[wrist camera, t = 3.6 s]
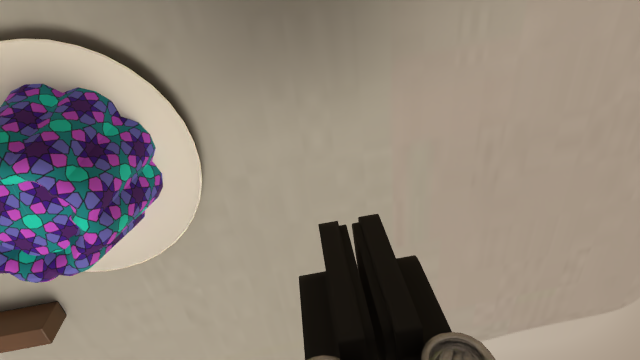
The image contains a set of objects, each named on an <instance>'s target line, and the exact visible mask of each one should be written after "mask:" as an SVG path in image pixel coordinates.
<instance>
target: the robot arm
mask: <svg viewBox="0 0 640 360" xmlns="http://www.w3.org/2000/svg"><path fill="white" fill-rule="evenodd" d="M358 219H359V223H353V224H352V229H353V237H354V244H355V252H356V259H357V264H356V261H355V257H354V253H353V249H352V245H351V241H350V238H349V234H348V230H347V226H346V225H342V226H339V225H338V221H334V222H329V223H323V224H319V231H320V237H321V243H322V249H323V255H324V261H325V268H326V271H325V272H320V273H314V274H309V275H303V276H299V285H300V298H301V311H302V324H303V337H304V350H305V360H495V358H494V357H493V356H492V354H491V353H490V351H489V350H488V349H487V348H486V347H485V346H484V345H483V344H482V343H481V342H480V341H478V340H476V339H475V338H473V337H471V336H469V335H465V334H462V333H455V332H452V331H451V329H450V327H449V325H448V323H447V320H446V318H445V316H444V314H443V312H442V310H441V307H440V305H439V303H438V301H437V299H436V297H435V295H434V292H433V290H432V288H431V286H430V284H429V282H428V279H427V277H426V275H425V273H424V271H423V269H422V266H421V264H420V262H419V260H418V258H417V257H416V256H409V257H403V258H398V259H396V258H395V255H394V253H393V250H392V247H391V245H390V242H389V240H388V237H387V235H386V232H385V230H384V227H383V225H382V222H381V219H380V217H379V215H378V214H374V215H368V216H362V217H359V218H358ZM357 266H358V268H357Z"/></svg>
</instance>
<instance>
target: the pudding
mask: <svg viewBox="0 0 640 360" xmlns="http://www.w3.org/2000/svg"><path fill="white" fill-rule="evenodd" d="M201 187H202V175H201V164H200V160H199V156H198V153H197V149H196V146H195V143H194V141H193V139H192V137H191V135H190V133H189V131H188V129H187V127H186V125H185V123H184V121H183V120H182V119H181V117H180V116H179V114H178V113H177V112H176V110H175V109H174V108H173V106H172V105H171V104H170V102H169V101H168V100H167V99H166V98H165V97H164V96H163V95H162V94H160V93H159V92H158V91H157V90H156V89H155V88H154V87H153V86H152V85H151V84H150V83H149V82H147V81H146V80H145V79H143V78H142V77H140V76H139V75H138V74H136V73H135V72H134V71H132V70H131V69H130V68H128V67H126V66H124V65H122V64H120V63H118V62H116V61H115V60H113V59H111V58H109V57H107V56H105V55H103V54H100V53H97V52H95V51H92V50H89V49H86V48H83V47H81V46H78V45H74V44H69V43H63V42H58V41H53V40H48V39H13V40H6V41H0V273H10V274H12V275H13V276H15V277H17V278H18V279H20V280H22V281H29V282H35V283H38V282H47V281H50V280H53V279H54V278H56V277H57V276H58V275H66V276H72V275H75V274H78V273H80V272H95V271H110V270H116V269H122V268H127V267H130V266H133V265H136V264H139V263H143V262H145V261H147V260H149V259H151V258H153V257H155V256H157V255H159V254H160V253H162V252H163V251H164V250H166V249H167V248H169V247H170V246H171V245H173V244H174V243H175V242H176V241H177V240H178V239H179V237H180V236H181V235H182V234H183V233H184V232H185V231H186V229H187V228H188V226H189V224H190V223H191V221H192V219H193V218H194V216H195V213H196V210H197V207H198V204H199V201H200V195H201Z"/></svg>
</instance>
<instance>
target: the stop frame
mask: <svg viewBox="0 0 640 360" xmlns="http://www.w3.org/2000/svg"><path fill="white" fill-rule="evenodd" d="M65 318H66V314H65V313H64V311H63V309H62V308H61V306H60V305H59V303H58V302H52V303H47V304H41V305H36V306H31V307H25V308H20V309H14V310H9V311H4V312H0V353H3V352H8V351H14V350H19V349H24V348H30V347H35V346H40V345H46V344H51V343H52V342H53V340H54V338H55V336H56V334H57V332H58V331H59V329H60V327H61V325H62V323H63V321H64V319H65Z"/></svg>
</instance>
